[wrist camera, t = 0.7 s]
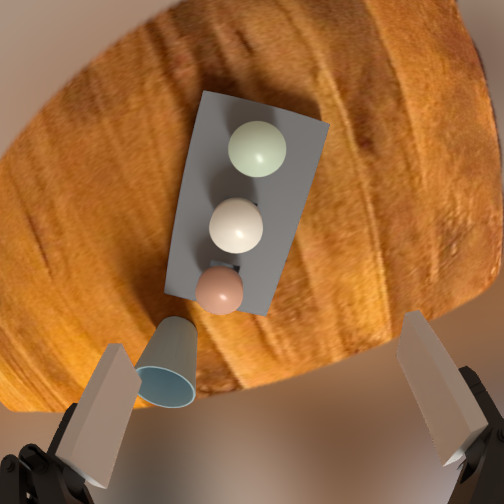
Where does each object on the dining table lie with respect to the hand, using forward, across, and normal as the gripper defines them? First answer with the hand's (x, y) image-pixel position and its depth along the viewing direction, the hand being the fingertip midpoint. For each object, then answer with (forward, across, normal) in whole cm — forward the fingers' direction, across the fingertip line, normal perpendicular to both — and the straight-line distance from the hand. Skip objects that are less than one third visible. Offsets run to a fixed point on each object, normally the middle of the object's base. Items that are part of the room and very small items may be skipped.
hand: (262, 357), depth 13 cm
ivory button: (+18, -2, +1) cm, 18 cm away
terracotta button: (+18, -5, -6) cm, 19 cm away
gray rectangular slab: (+21, -2, +1) cm, 21 cm away
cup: (+21, -13, -15) cm, 29 cm away
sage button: (+18, +1, +7) cm, 20 cm away
